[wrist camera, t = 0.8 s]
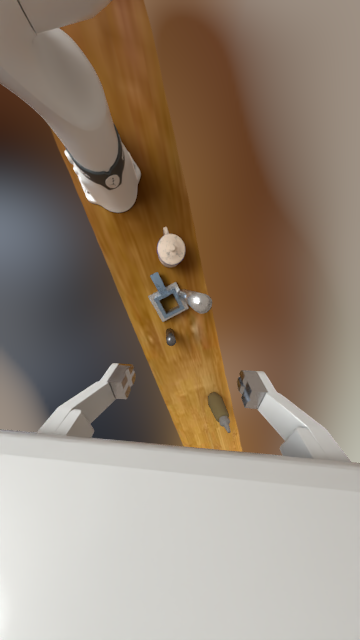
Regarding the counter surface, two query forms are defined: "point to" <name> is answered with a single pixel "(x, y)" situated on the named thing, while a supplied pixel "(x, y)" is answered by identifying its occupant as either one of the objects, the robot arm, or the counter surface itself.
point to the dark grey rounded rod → (170, 337)
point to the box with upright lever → (177, 299)
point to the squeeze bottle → (219, 410)
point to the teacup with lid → (170, 249)
